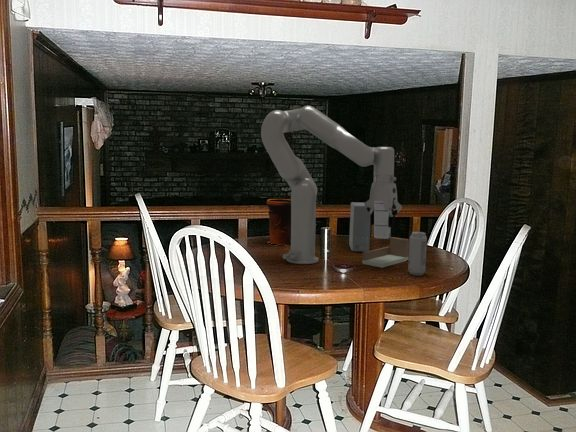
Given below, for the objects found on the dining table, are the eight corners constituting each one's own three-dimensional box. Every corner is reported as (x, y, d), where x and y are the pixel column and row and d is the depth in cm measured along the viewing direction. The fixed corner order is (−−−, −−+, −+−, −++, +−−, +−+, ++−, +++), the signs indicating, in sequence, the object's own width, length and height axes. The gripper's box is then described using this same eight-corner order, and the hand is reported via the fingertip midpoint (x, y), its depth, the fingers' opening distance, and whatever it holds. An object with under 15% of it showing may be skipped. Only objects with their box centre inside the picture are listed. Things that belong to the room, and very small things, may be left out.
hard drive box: (369, 252, 236) (371, 206, 234) (351, 251, 237) (353, 205, 234) (365, 245, 252) (367, 202, 249) (348, 245, 252) (350, 201, 249)
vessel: (264, 239, 260) (266, 197, 258) (294, 240, 262) (296, 198, 259) (265, 245, 246) (267, 201, 244) (297, 246, 247) (299, 202, 245)
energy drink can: (411, 271, 203) (413, 230, 201) (427, 273, 200) (429, 232, 198) (405, 274, 198) (407, 232, 196) (421, 276, 195) (423, 234, 193)
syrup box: (388, 239, 208) (390, 200, 207) (373, 238, 210) (374, 200, 208) (390, 236, 214) (391, 199, 212) (375, 235, 216) (376, 198, 214)
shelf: (382, 267, 208) (383, 245, 206) (362, 263, 214) (363, 242, 212) (408, 260, 221) (409, 239, 220) (388, 256, 227) (389, 236, 226)
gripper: (408, 180, 206) (407, 227, 208) (369, 178, 218) (368, 222, 220) (398, 181, 200) (396, 229, 203) (358, 178, 212) (357, 224, 214)
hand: (382, 225), depth 211 cm, fingers closed on syrup box, 7 cm apart
